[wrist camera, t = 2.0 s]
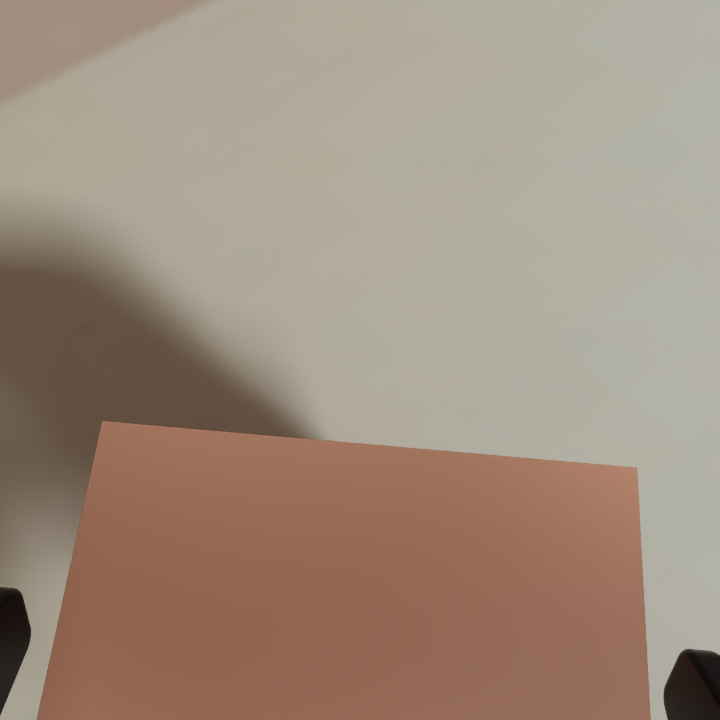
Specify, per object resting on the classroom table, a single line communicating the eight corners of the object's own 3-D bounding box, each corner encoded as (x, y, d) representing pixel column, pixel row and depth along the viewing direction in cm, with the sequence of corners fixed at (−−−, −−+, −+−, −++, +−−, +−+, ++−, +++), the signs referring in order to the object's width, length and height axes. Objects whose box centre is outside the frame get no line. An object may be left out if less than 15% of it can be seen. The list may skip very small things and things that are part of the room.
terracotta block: (422, 659, 16) (664, 976, 4) (267, 644, 16) (-6, 909, 4) (428, 538, 17) (636, 467, 5) (281, 525, 17) (102, 420, 5)
